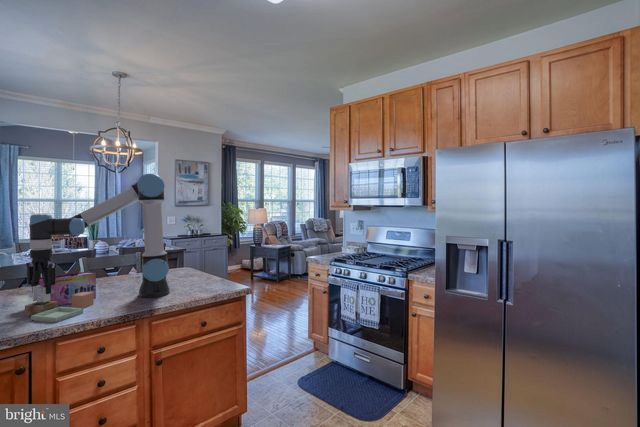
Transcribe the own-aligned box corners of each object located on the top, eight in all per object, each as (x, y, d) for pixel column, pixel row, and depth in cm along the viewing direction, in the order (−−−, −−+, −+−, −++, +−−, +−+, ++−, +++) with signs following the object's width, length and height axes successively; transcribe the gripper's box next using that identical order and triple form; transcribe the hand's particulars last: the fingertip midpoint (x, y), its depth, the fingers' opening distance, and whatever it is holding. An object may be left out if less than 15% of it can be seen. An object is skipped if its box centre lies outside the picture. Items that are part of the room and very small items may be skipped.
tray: (83, 312, 148) (83, 308, 148) (56, 322, 136) (56, 317, 135) (59, 311, 150) (59, 306, 150) (31, 320, 138) (30, 315, 138)
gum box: (37, 309, 152) (36, 280, 152) (32, 306, 157) (32, 278, 156) (96, 298, 171) (96, 272, 171) (91, 296, 176) (90, 270, 175)
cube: (93, 304, 161) (93, 292, 160) (82, 308, 155) (82, 295, 154) (83, 303, 162) (83, 291, 161) (71, 307, 156) (71, 295, 156)
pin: (41, 314, 145) (40, 287, 145) (35, 314, 145) (34, 287, 145) (48, 312, 148) (47, 286, 148) (42, 312, 149) (41, 285, 148)
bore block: (57, 311, 150) (57, 301, 150) (40, 316, 142) (39, 306, 142) (43, 310, 151) (43, 300, 151) (24, 315, 144) (24, 305, 143)
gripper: (65, 248, 148) (66, 299, 149) (33, 247, 151) (33, 297, 152) (49, 250, 141) (49, 304, 141) (15, 249, 144) (16, 301, 145)
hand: (41, 300), depth 147 cm, fingers open, 5 cm apart
